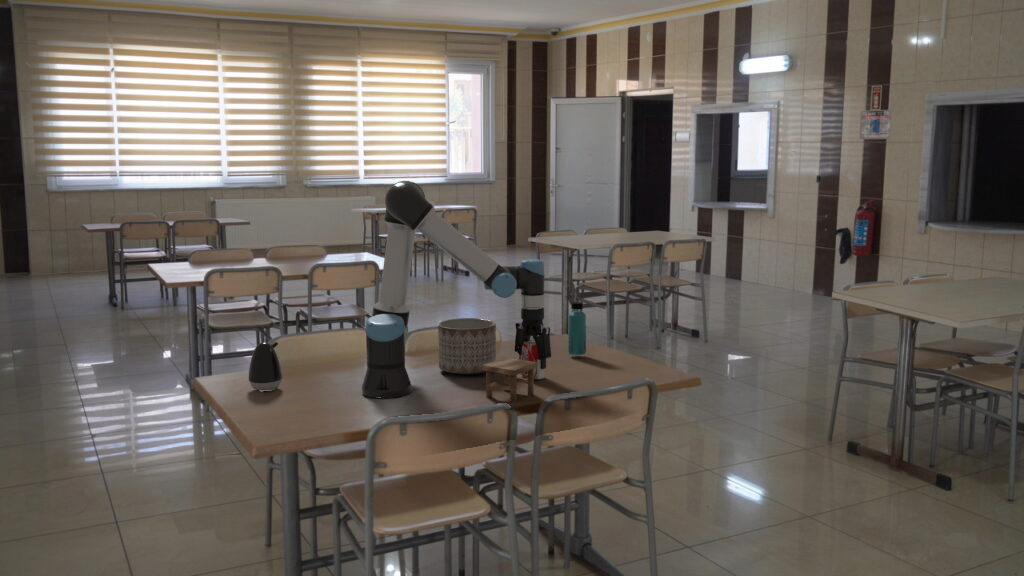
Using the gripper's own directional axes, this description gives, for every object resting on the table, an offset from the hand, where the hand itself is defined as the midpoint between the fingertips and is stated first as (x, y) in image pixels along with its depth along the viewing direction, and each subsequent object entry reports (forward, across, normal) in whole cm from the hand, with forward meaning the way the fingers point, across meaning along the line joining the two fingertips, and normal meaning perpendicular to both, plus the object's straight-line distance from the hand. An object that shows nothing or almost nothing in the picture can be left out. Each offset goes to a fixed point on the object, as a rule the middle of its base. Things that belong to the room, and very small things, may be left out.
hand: (532, 376), depth 285 cm
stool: (+1, -10, +20) cm, 22 cm away
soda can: (+1, 0, 0) cm, 1 cm away
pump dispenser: (+1, +49, +69) cm, 85 cm away
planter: (+1, +22, +9) cm, 24 cm away
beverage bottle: (+1, +9, -32) cm, 33 cm away
